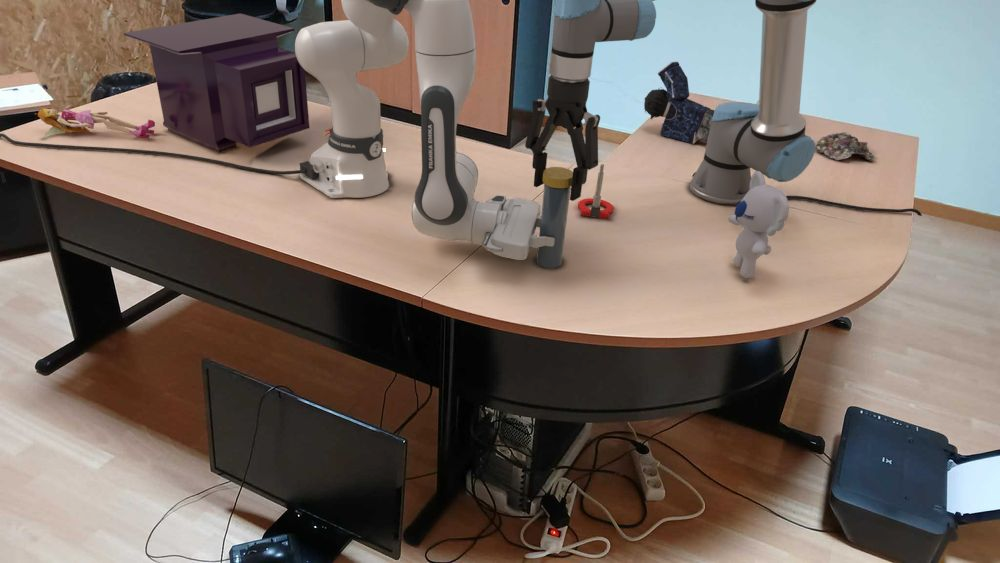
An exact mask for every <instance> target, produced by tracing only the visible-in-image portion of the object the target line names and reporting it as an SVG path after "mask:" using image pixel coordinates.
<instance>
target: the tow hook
mask: <svg viewBox="0 0 1000 563" xmlns="http://www.w3.org/2000/svg"><path fill="white" fill-rule="evenodd" d="M604 167H605V164H604V163H600V166H599V172H598V174H597V180H596V187H595V192H594V193H595V194H594V195H593V198H591V197H590V198H583V199H581V200H579V201H578V203H577V208H578V209H579V210H580V216H587V217H592V218H601V219H603V218H604V219H609V218H610V214H612V213H613V211H614V205H613V204H612V203H611V202H609V201H607V200H605V199H602V187H603V180H604V169H605V168H604ZM588 204H589V205H590V204H591V206H590V207H587V206H586V205H588ZM602 206H603V207H604V209H601V207H602Z"/></svg>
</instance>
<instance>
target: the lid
mask: <svg viewBox="0 0 1000 563" xmlns="http://www.w3.org/2000/svg"><path fill="white" fill-rule="evenodd" d="M572 177H573V170H571V169H569V168H566V167H561V166H550V167H546V169H545V170H544V172H543V179H542V181H543V183H544V184H545V185H547V186H550V187H553V188H568V187H571V185H572ZM544 184H543V185H544Z"/></svg>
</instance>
